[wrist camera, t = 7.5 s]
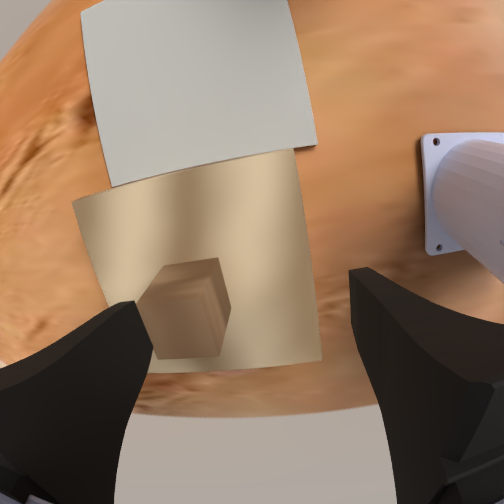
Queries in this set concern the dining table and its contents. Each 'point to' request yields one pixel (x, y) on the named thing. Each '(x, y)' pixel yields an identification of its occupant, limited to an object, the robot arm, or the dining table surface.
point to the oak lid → (210, 263)
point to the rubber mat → (193, 83)
